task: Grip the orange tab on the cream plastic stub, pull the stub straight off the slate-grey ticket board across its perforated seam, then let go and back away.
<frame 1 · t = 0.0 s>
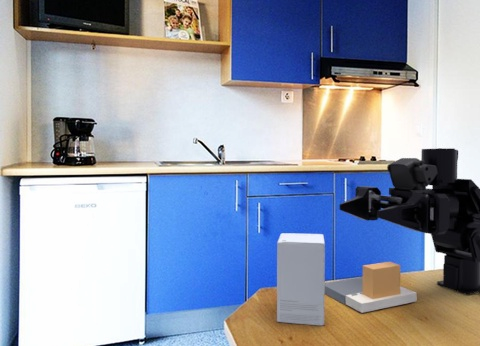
hand: (357, 210, 62), 17 cm above the table, tool horizontal, fingers open, 9 cm apart
supplement box: (301, 316, 61), on the table
ticket board: (358, 292, 70), on the table
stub: (381, 284, 65), point 3 cm above the table, slide at 0.0 cm
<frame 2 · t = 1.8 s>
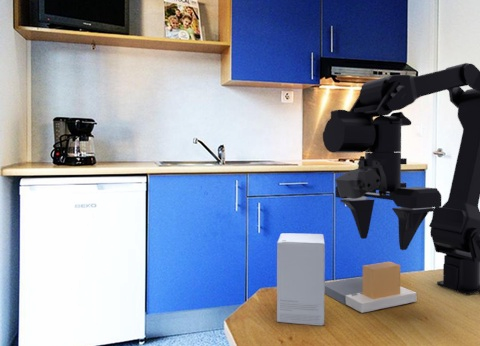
hand: (382, 243, 64), 10 cm above the table, tool pointing down, fingers open, 9 cm apart
nothing on the table moved.
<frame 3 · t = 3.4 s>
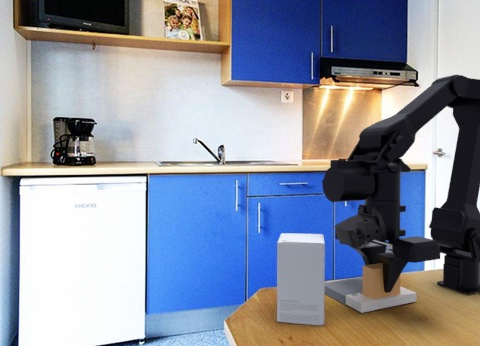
hand: (381, 289, 65), 3 cm above the table, tool pointing down, fingers closed on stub, 2 cm apart
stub: (381, 284, 65), point 3 cm above the table, slide at 0.0 cm, touching gripper
everything else where it was.
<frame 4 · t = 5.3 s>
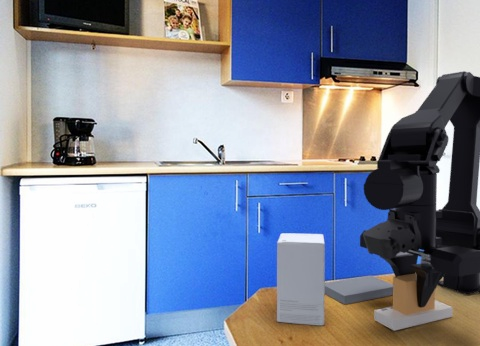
hand: (413, 303, 58), 3 cm above the table, tool pointing down, fingers closed on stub, 2 cm apart
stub: (413, 297, 58), point 3 cm above the table, slide at 6.8 cm, touching gripper
everything else where it was.
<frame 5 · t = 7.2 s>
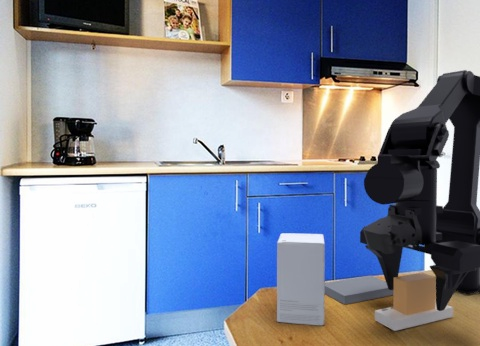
hand: (414, 299, 58), 3 cm above the table, tool pointing down, fingers open, 9 cm apart
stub: (414, 297, 58), point 3 cm above the table, slide at 6.9 cm
everything else where it was.
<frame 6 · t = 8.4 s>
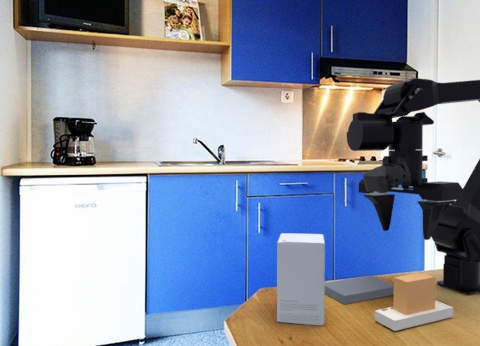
hand: (405, 234, 69), 11 cm above the table, tool pointing down, fingers open, 9 cm apart
nothing on the table moved.
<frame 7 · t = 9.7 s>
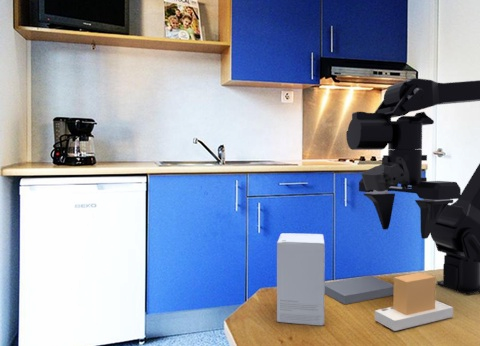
hand: (403, 233, 70), 11 cm above the table, tool pointing down, fingers open, 9 cm apart
nothing on the table moved.
at the end: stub slide at 6.9 cm; the gripper is holding nothing; supplement box moved 0.3 cm from its start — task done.
